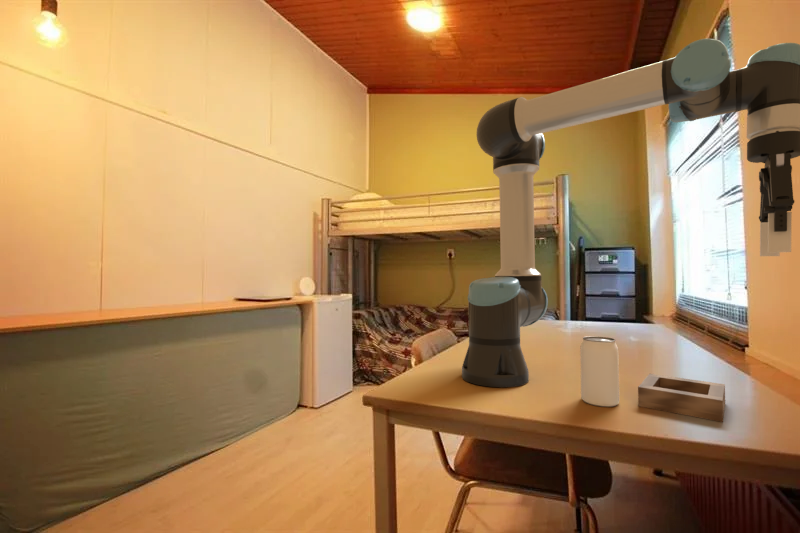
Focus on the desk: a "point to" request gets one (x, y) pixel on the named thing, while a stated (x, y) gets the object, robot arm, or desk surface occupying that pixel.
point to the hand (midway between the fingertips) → (774, 254)
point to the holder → (683, 396)
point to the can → (599, 371)
